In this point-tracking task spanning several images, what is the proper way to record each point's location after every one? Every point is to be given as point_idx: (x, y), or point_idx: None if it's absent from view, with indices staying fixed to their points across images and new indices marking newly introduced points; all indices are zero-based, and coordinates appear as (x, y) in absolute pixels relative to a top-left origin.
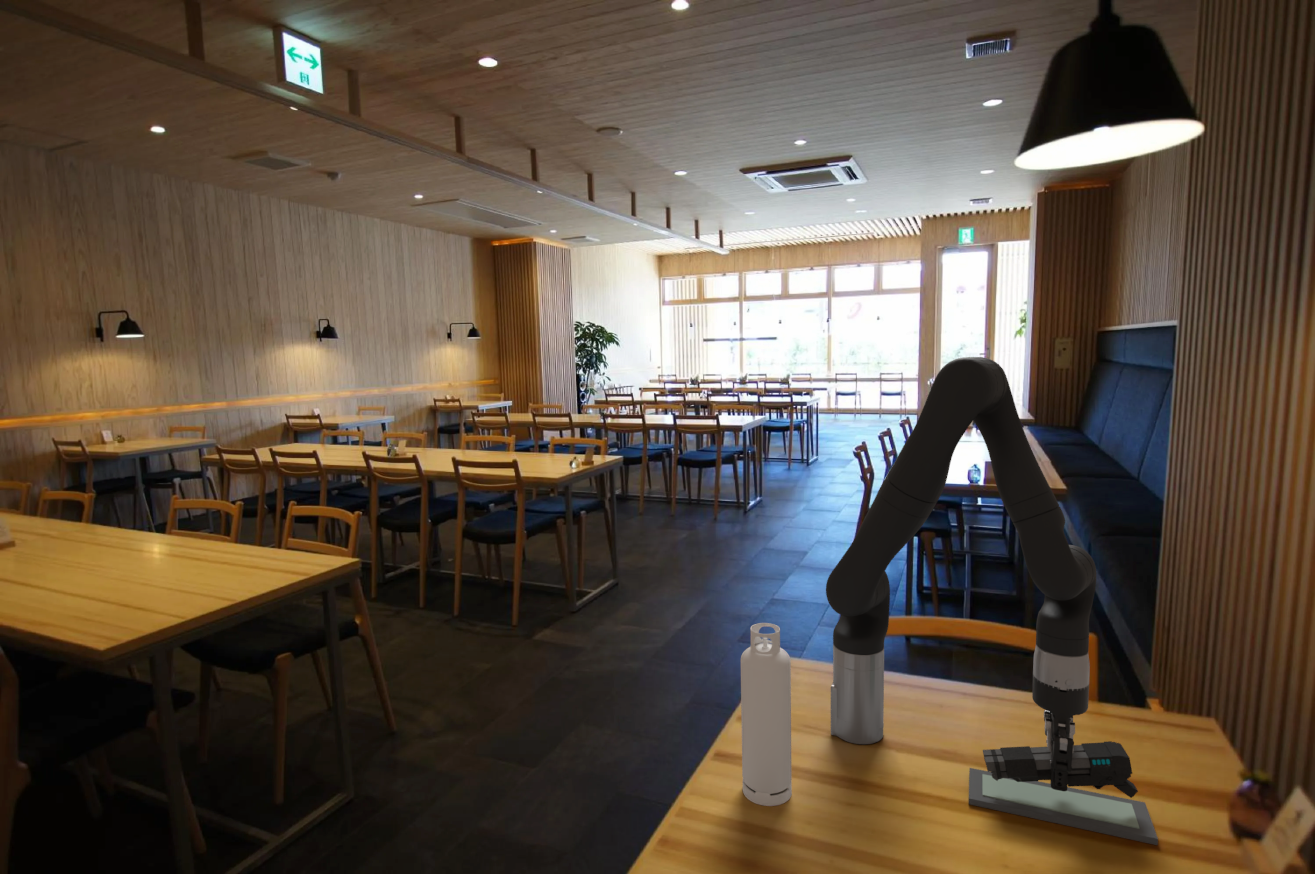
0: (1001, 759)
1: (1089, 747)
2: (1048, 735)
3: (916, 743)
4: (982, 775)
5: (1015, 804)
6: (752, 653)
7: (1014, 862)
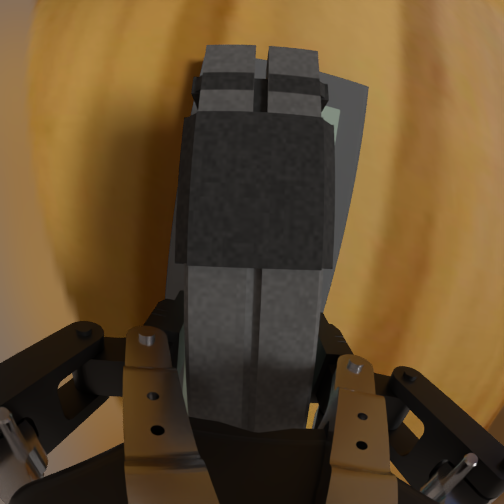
0: (218, 104)
1: None
2: (124, 431)
3: (444, 26)
4: (333, 108)
5: None
6: None
7: (32, 149)
